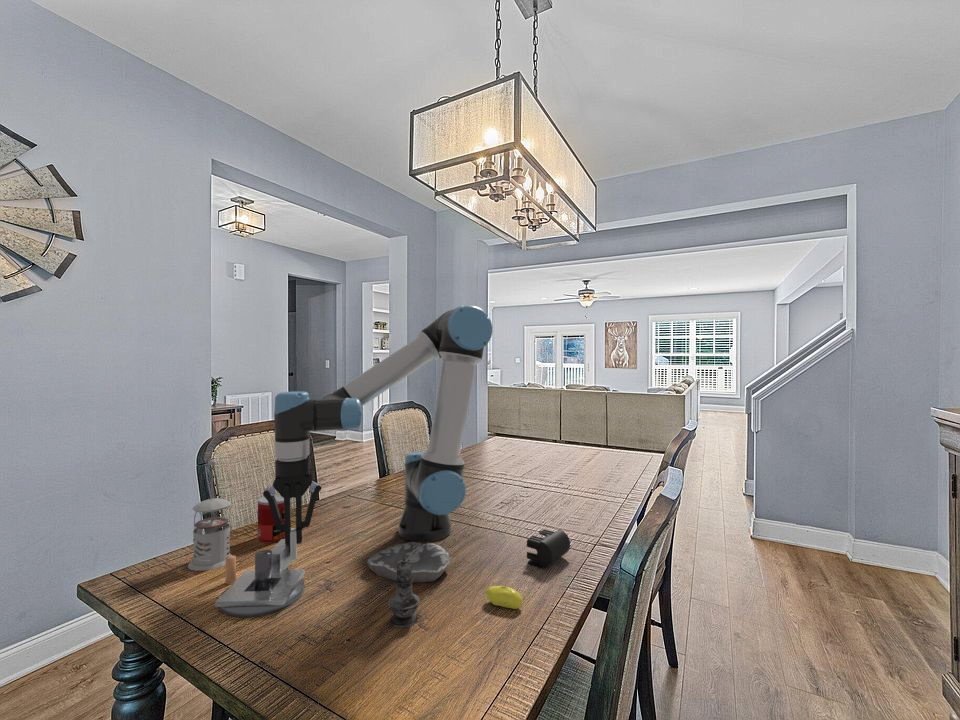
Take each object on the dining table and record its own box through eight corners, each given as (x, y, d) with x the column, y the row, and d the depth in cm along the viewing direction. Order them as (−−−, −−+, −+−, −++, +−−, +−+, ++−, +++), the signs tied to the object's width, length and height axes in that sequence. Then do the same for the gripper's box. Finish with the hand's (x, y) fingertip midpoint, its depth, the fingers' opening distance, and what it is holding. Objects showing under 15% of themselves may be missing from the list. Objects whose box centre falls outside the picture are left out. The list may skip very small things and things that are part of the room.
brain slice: (460, 557, 115) (460, 545, 115) (441, 590, 98) (441, 576, 98) (387, 550, 119) (387, 539, 119) (357, 581, 102) (357, 568, 102)
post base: (318, 581, 101) (318, 541, 101) (272, 621, 85) (272, 574, 85) (255, 574, 104) (255, 535, 104) (200, 612, 89) (200, 566, 89)
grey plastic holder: (283, 604, 89) (283, 579, 89) (215, 606, 88) (215, 581, 88) (314, 559, 109) (315, 538, 109) (259, 560, 108) (259, 539, 108)
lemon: (517, 616, 88) (517, 596, 88) (481, 605, 92) (481, 586, 92) (525, 605, 92) (526, 586, 92) (490, 595, 96) (491, 577, 96)
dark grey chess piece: (390, 611, 89) (390, 550, 89) (420, 610, 90) (420, 549, 90) (386, 629, 83) (387, 564, 83) (418, 627, 84) (419, 563, 84)
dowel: (237, 580, 101) (238, 556, 101) (231, 584, 99) (231, 559, 99) (230, 579, 102) (230, 555, 102) (223, 583, 100) (223, 559, 100)
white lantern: (200, 574, 104) (201, 466, 104) (176, 562, 110) (176, 460, 110) (242, 558, 112) (243, 458, 112) (217, 548, 119) (217, 453, 119)
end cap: (551, 573, 106) (551, 544, 106) (525, 565, 110) (525, 537, 110) (570, 558, 114) (570, 532, 114) (545, 551, 118) (545, 525, 118)
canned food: (277, 544, 121) (277, 503, 121) (250, 541, 123) (251, 501, 123) (294, 533, 129) (294, 495, 129) (269, 531, 130) (269, 493, 130)
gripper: (321, 452, 112) (322, 547, 112) (264, 456, 107) (265, 555, 108) (321, 458, 105) (322, 560, 105) (260, 463, 100) (261, 569, 101)
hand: (293, 557), depth 106 cm, fingers closed
